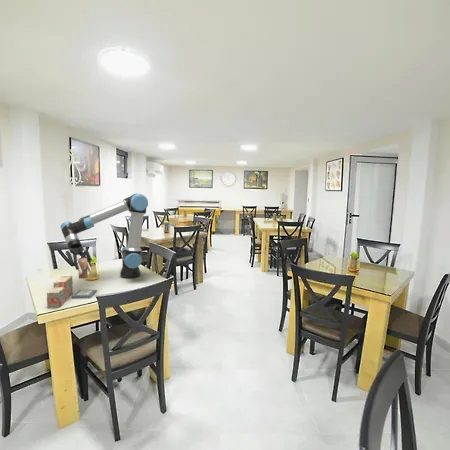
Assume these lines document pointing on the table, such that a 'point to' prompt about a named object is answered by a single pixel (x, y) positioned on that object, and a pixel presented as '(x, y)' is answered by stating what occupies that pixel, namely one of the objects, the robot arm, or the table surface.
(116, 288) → the table surface
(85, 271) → the column
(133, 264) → the robot arm
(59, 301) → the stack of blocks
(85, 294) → the base board
